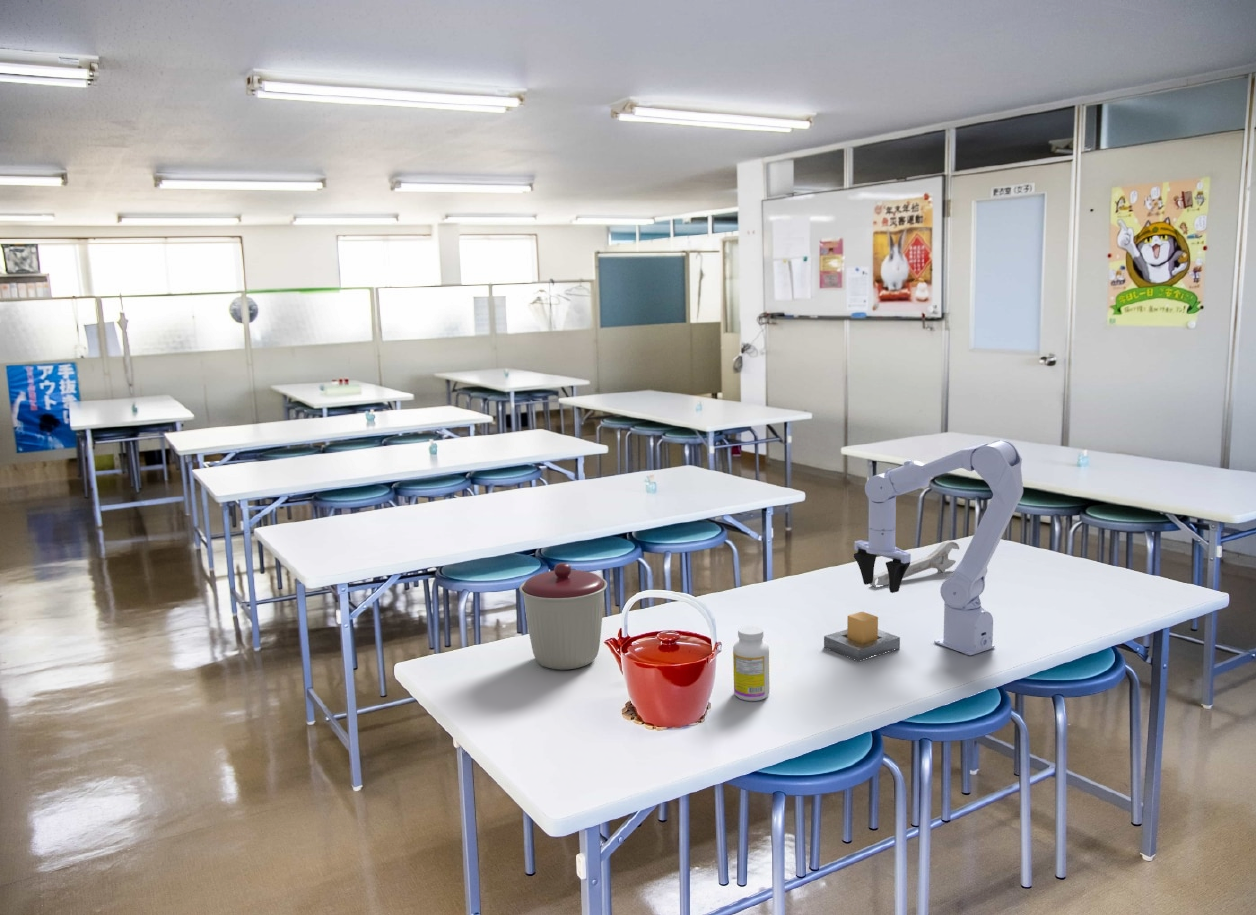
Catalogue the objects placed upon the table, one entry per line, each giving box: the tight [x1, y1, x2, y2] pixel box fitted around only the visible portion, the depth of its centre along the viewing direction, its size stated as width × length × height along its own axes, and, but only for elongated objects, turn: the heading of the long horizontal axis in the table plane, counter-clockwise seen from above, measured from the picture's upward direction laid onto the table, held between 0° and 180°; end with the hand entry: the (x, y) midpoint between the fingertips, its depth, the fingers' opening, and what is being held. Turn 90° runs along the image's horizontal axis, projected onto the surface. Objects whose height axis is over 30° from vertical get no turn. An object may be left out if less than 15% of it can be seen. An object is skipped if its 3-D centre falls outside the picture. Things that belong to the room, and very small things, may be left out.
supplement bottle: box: [732, 625, 770, 702], centre depth 179 cm, size 7×7×13 cm
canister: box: [518, 562, 608, 671], centre depth 198 cm, size 18×18×21 cm
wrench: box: [869, 540, 960, 588], centre depth 249 cm, size 8×2×30 cm
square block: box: [846, 611, 879, 644], centre depth 201 cm, size 4×4×7 cm
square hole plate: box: [823, 629, 901, 662], centre depth 201 cm, size 10×12×2 cm
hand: (881, 587), depth 211 cm, fingers open, 7 cm apart
